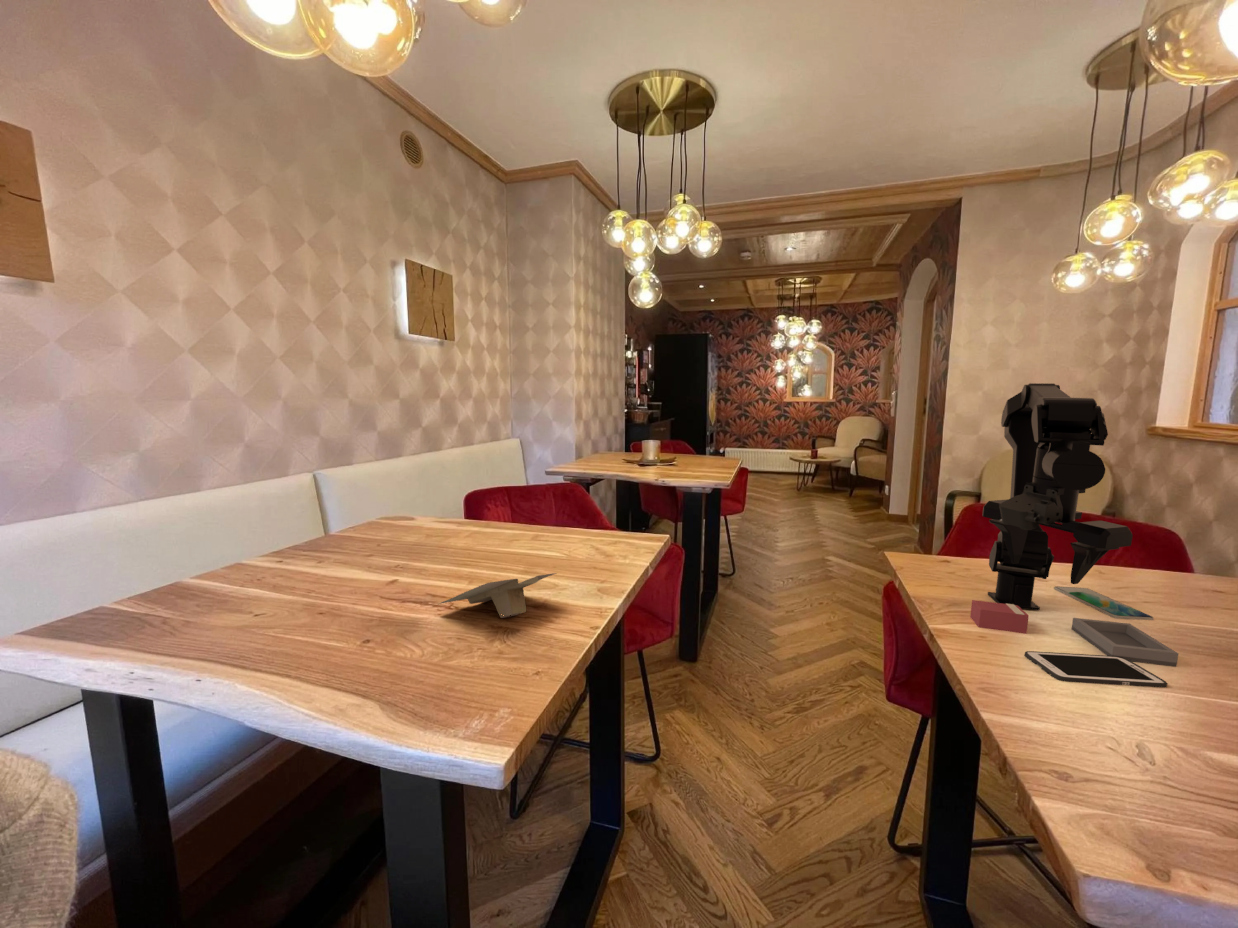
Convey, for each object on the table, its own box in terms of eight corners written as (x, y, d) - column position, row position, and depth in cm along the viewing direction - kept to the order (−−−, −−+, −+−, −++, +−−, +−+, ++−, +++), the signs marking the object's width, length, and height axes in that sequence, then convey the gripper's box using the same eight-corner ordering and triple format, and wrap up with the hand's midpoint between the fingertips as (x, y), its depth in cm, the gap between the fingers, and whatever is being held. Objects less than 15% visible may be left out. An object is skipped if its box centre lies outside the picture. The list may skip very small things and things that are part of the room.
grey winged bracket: (447, 651, 87) (493, 612, 80) (434, 603, 91) (477, 561, 83) (524, 633, 100) (570, 597, 92) (509, 591, 103) (553, 554, 96)
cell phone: (1021, 656, 81) (1021, 650, 81) (1122, 662, 80) (1123, 656, 80) (1057, 683, 73) (1058, 676, 73) (1170, 690, 72) (1171, 683, 72)
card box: (978, 628, 90) (980, 608, 90) (970, 618, 95) (972, 599, 94) (1026, 634, 88) (1028, 614, 88) (1015, 623, 92) (1017, 604, 92)
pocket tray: (1071, 629, 90) (1073, 617, 90) (1127, 635, 88) (1129, 623, 88) (1111, 658, 80) (1113, 645, 80) (1176, 666, 78) (1178, 653, 78)
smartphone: (1087, 587, 109) (1156, 617, 94) (1086, 591, 109) (1155, 622, 94) (1051, 585, 110) (1115, 615, 95) (1051, 589, 110) (1114, 620, 95)
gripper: (962, 470, 88) (952, 558, 90) (1085, 493, 70) (1069, 602, 73) (1012, 467, 91) (1002, 552, 93) (1143, 489, 73) (1125, 593, 75)
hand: (1043, 572), depth 83 cm, fingers open, 9 cm apart
